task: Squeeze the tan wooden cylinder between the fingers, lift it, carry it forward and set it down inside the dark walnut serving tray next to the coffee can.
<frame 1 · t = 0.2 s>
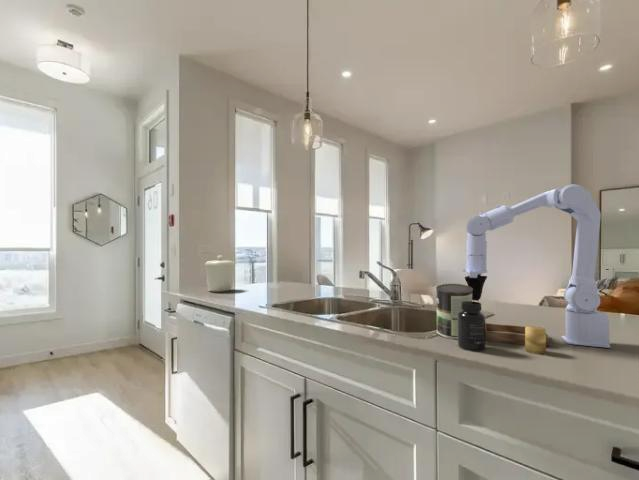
hand: (475, 299, 108), 10 cm above the countertop, tool pointing down, fingers open, 3 cm apart
supplement bottle: (471, 348, 93), on the countertop
coffee can: (454, 333, 106), on the countertop, touching gripper
tray: (513, 338, 102), on the countertop
tan wooden cylinder: (535, 351, 90), on the countertop
canister: (219, 291, 207), on the countertop
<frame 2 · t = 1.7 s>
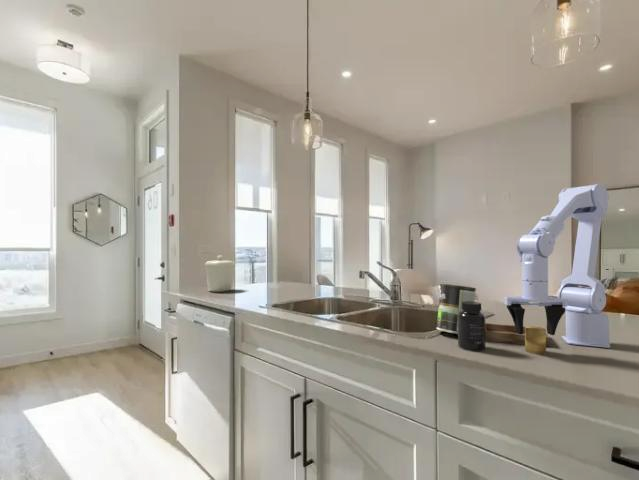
hand: (535, 333, 90), 5 cm above the countertop, tool pointing down, fingers open, 7 cm apart
coffee can: (453, 332, 107), point 1 cm above the countertop
everything else where it was.
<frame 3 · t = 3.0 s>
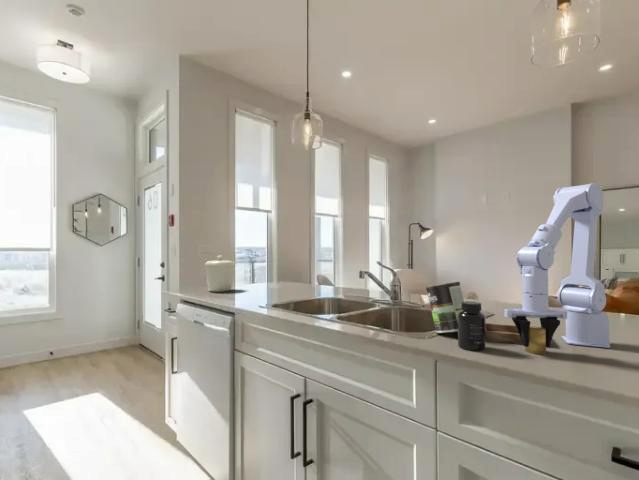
hand: (535, 346, 90), 1 cm above the countertop, tool pointing down, fingers closed on tan wooden cylinder, 4 cm apart
tan wooden cylinder: (535, 351, 90), on the countertop, touching gripper
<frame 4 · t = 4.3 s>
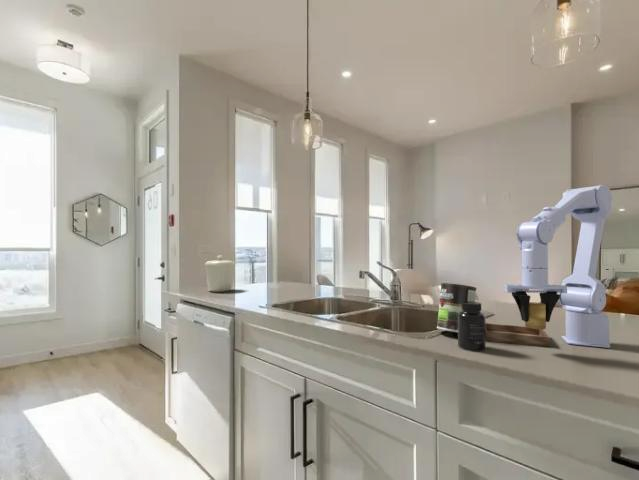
hand: (535, 320, 90), 8 cm above the countertop, tool pointing down, fingers closed on tan wooden cylinder, 4 cm apart
tan wooden cylinder: (535, 327, 90), point 6 cm above the countertop, touching gripper
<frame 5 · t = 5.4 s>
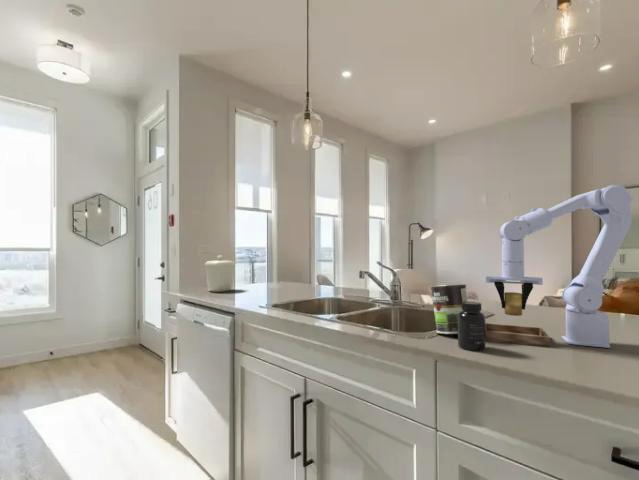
hand: (513, 308, 102), 9 cm above the countertop, tool pointing down, fingers closed on tan wooden cylinder, 4 cm apart
tan wooden cylinder: (513, 313, 102), point 7 cm above the countertop, touching gripper
when the fingers open (4 cm above the countertop, at t = 7.1 s): tan wooden cylinder drops 2 cm, resting on tray.
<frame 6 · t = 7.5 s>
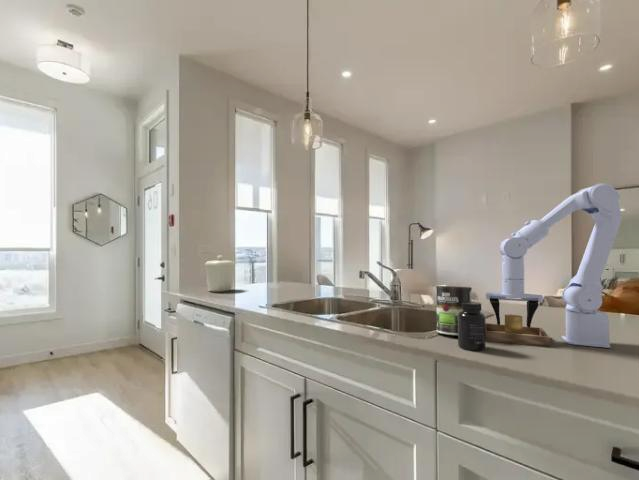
hand: (513, 325, 102), 4 cm above the countertop, tool pointing down, fingers open, 7 cm apart
tan wooden cylinder: (513, 336, 102), point 1 cm above the countertop, touching tray
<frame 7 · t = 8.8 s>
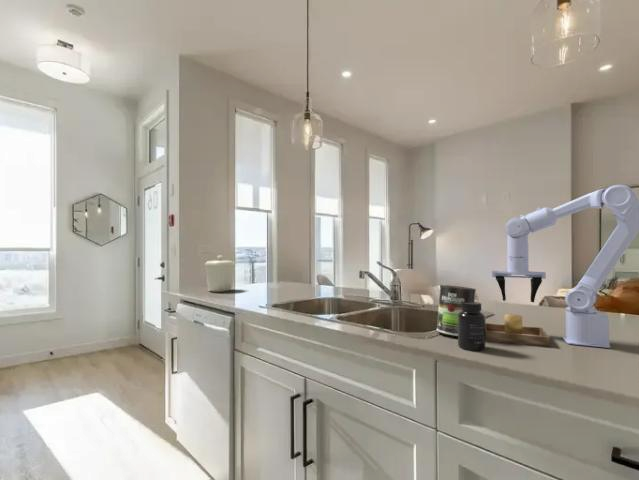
hand: (518, 301, 109), 10 cm above the countertop, tool pointing down, fingers open, 7 cm apart
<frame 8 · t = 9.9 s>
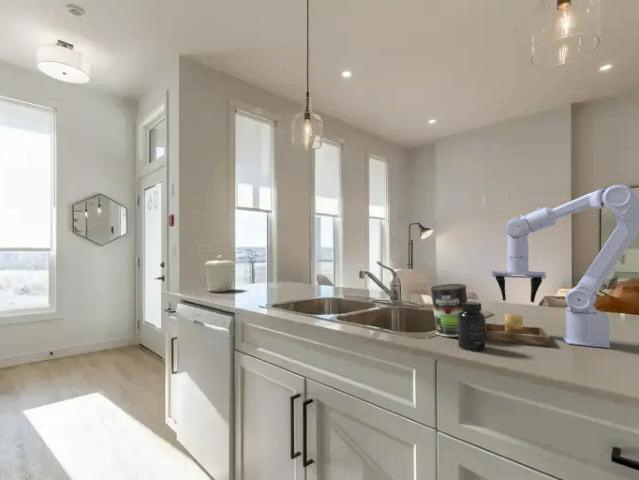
hand: (518, 301, 109), 10 cm above the countertop, tool pointing down, fingers open, 7 cm apart
at the end: tan wooden cylinder inside the target area on the tray (0.2 cm from its centre), point 0.6 cm above the tray's base; tan wooden cylinder tilted 1°; the gripper is holding nothing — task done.
